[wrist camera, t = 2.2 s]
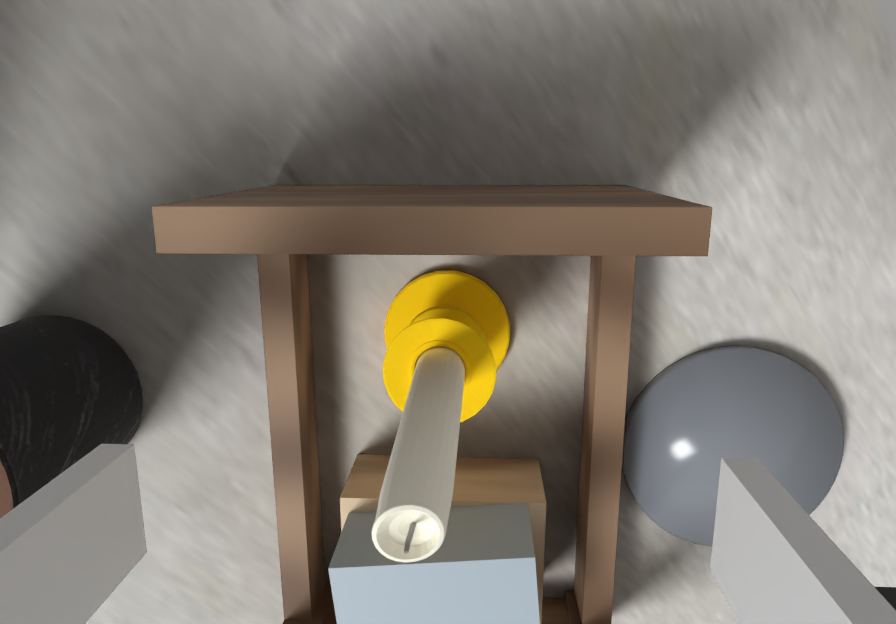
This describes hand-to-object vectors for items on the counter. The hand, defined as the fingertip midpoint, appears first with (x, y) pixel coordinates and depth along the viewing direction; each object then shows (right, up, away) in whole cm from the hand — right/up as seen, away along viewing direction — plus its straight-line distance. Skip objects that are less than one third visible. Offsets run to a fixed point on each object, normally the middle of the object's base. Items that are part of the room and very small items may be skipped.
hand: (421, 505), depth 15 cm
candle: (+1, +4, +13) cm, 14 cm away
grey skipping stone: (+13, -1, +13) cm, 18 cm away
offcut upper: (0, -6, +11) cm, 13 cm away
